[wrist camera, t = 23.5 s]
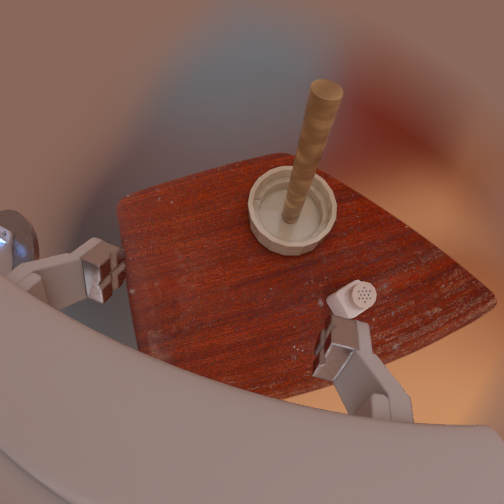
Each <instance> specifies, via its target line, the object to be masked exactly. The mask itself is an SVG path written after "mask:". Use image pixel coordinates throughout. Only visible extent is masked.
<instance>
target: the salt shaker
mask: <svg viewBox="0 0 504 504" xmlns="http://www.w3.org/2000/svg"><path fill="white" fill-rule="evenodd" d="M376 295H377V294H376V291H375V288H374V287H373V286H372V285H371V284H370V283H368V282H361V281H359V280H355V281H353V282H351V283H349V284H348V285H346V286H344V287H342V288H341V289H339V290H338V291H336V292H334V293H333V294H331V295H330V296H328V297H327V299H326V302H327V304H328V305H329V307H330V309H331V311H332V312H333V314H334V315H336V316H340V317H344V318H347V319H350V318H354V317H356V316H357V315H359V314H360V313H362V312H363V311H365V310H366V309H367V308H369V307H371V306H372V305H373V304H374V302H375V301H376Z"/></svg>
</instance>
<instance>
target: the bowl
mask: <svg viewBox="0 0 504 504" xmlns="http://www.w3.org/2000/svg"><path fill="white" fill-rule="evenodd" d="M292 168H293V166H281V167H278V168H274V169H271V170H269V171H268V172H266V173H265V174H263V175H262V176H261V177H259V178H258V179H257V181H256V182H255V184H254V185H253V187H252V188H251V190H250V195H249V200H248V218H249V223H250V228H251V230H252V232H253V234H254V235H255V237H256V238H257V240H258V241H259V242H260V243H261V244H262V245H264V246H265V247H266V248H267V249H269V250H270V251H273V252H276V253H279V254H282V255H301V254H304V253H307V252H309V251H312V250H313V249H315V248H316V247H317V246H318V245H319V244H320V243H321V242H322V241H323V240H324V239H325V237H326V236H327V235H328V233H329V232H330V230H331V228H332V226H333V224H334V222H335V220H336V211H337V203H336V200H335V197H334V194H333V191H332V190H331V188H330V187H329V185H328V184H327V183H326V181H325V180H324V179H323V178H321V177H320V176H318V175H317V174H316V173H315V176H314V178H313V181H312V184H311V186H310V189H309V192H308V195H307V197H306V200H305V203H304V205H303V208H302V210H301V213H300V216H299V218H298V220H297V222H295V223H293V224H288V223H286V222H284V221H283V219H282V211H283V207H284V203H285V198H286V194H287V190H288V186H289V181H290V177H291V173H292Z"/></svg>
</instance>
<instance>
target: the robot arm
mask: <svg viewBox="0 0 504 504" xmlns="http://www.w3.org/2000/svg"><path fill="white" fill-rule="evenodd" d="M12 242H13V233H12V232H11V231H10V230H8V229H6V228H4V227H2V226H1V225H0V504H504V442H503V440H502V439H501V438H500V437H499V435H498V434H497V433H496V432H495V431H494V430H493V429H492V428H491V427H490V426H487V425H443V424H442V425H441V424H424V423H414V419H413V411H412V404H411V399H410V397H409V396H408V394H407V393H406V392H405V390H404V389H403V388H402V387H401V385H400V384H399V383H398V382H397V380H396V379H395V378H394V376H393V375H392V374H391V373H390V372H389V370H388V369H387V368H386V366H385V365H384V364H383V363H382V361H381V360H380V359H379V358H378V356H377V355H376V354H373V352H372V345H371V337H370V331H369V325H368V323H365V322H361V321H357V320H351V319H347V318H344V317H340V316H336V315H333V314H329V316H328V317H327V319H326V321H325V328H324V329H322V330H321V331H320V333H319V335H318V338H317V341H316V344H315V349H314V355H315V356H316V359H315V360H314V362H313V371H312V377H316V378H320V379H324V380H328V381H332V382H333V384H334V386H335V388H336V390H337V392H338V394H339V396H340V397H341V400H342V402H343V404H344V406H345V408H346V410H347V412H348V414H343V413H338V412H333V411H328V410H323V409H318V408H313V407H309V406H304V405H300V404H295V403H291V402H287V401H283V400H279V399H275V398H271V397H268V396H264V395H260V394H257V393H253V392H250V391H246V390H243V389H240V388H237V387H233V386H230V385H227V384H224V383H221V382H218V381H215V380H212V379H209V378H206V377H203V376H201V375H198V374H195V373H192V372H190V371H187V370H184V369H181V368H179V367H176V366H174V365H171V364H169V363H166V362H164V361H161V360H159V359H156V358H154V357H151V356H149V355H147V354H144V353H142V352H140V351H137V350H135V349H133V348H131V347H128V346H126V345H124V344H122V343H120V342H118V341H116V340H113V339H111V338H109V337H107V336H105V335H103V334H101V333H99V332H97V331H95V330H93V329H91V328H89V327H87V326H85V325H83V324H82V323H79V322H78V321H76V320H74V319H72V318H70V317H69V316H67V315H65V314H63V313H61V312H60V311H58V310H60V309H62V308H65V307H67V306H69V305H72V304H74V303H76V302H79V301H81V300H83V299H86V298H87V297H88V298H91V299H93V300H95V301H97V302H100V303H102V304H104V303H105V302H106V300H108V299H109V298H110V297H111V295H112V290H114V289H118V288H119V287H120V286H121V285H122V283H123V281H124V279H125V276H126V266H125V264H124V263H123V260H124V259H125V258H126V253H125V250H124V248H122V247H119V246H117V245H114V244H111V243H109V242H106V241H103V240H101V239H98V238H91V239H90V240H89V241H87V242H86V243H84V244H83V245H82V246H80V247H79V248H77V249H76V250H75V251H73V252H72V253H71V254H68V253H65V254H61V255H56V256H52V257H47V258H43V259H39V260H34V261H30V262H26V263H21V264H20V265H18V266H17V267H16V268H14V269H13V270H12V267H13V255H12Z"/></svg>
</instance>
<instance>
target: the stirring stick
mask: <svg viewBox="0 0 504 504" xmlns="http://www.w3.org/2000/svg"><path fill="white" fill-rule="evenodd" d="M342 97H343V90H342V88H341V87H340V86H339V85H338V84H337V83H335V82H333V81H331V80H327V79H319V80H316V81H314V82H313V83H312V84H311V87H310V92H309V96H308V101H307V106H306V110H305V115H304V120H303V124H302V129H301V133H300V137H299V142H298V146H297V151H296V155H295V160H294V164H293V168H292V173H291V177H290V181H289V186H288V190H287V194H286V198H285V203H284V207H283V211H282V219H283V221H284V222H286V223H288V224H293V223H295V222H297V220H298V218H299V216H300V213H301V210H302V208H303V205H304V203H305V200H306V197H307V195H308V192H309V189H310V186H311V184H312V181H313V178H314V176H315V173H316V170H317V167H318V165H319V162H320V159H321V157H322V154H323V151H324V148H325V145H326V142H327V140H328V137H329V134H330V131H331V129H332V126H333V122H334V120H335V117H336V114H337V111H338V108H339V106H340V103H341V100H342Z"/></svg>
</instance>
